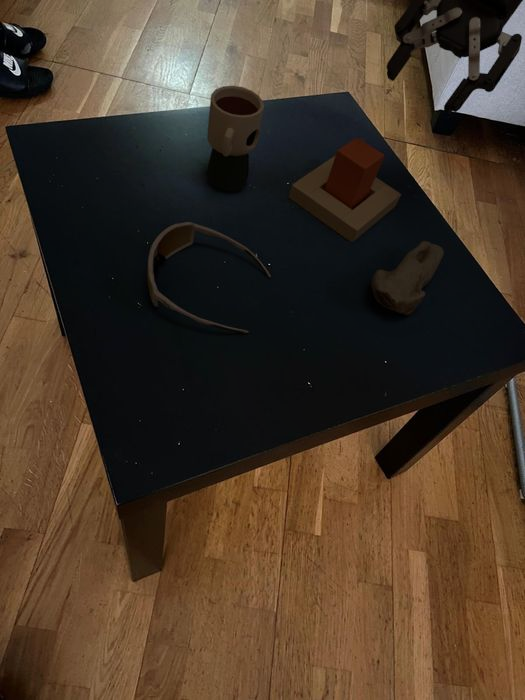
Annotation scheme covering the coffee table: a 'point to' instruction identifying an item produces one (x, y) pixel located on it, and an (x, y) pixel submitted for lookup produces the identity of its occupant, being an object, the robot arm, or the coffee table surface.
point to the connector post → (353, 173)
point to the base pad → (335, 212)
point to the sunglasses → (174, 242)
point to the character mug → (232, 135)
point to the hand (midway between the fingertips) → (417, 93)
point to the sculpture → (407, 279)
